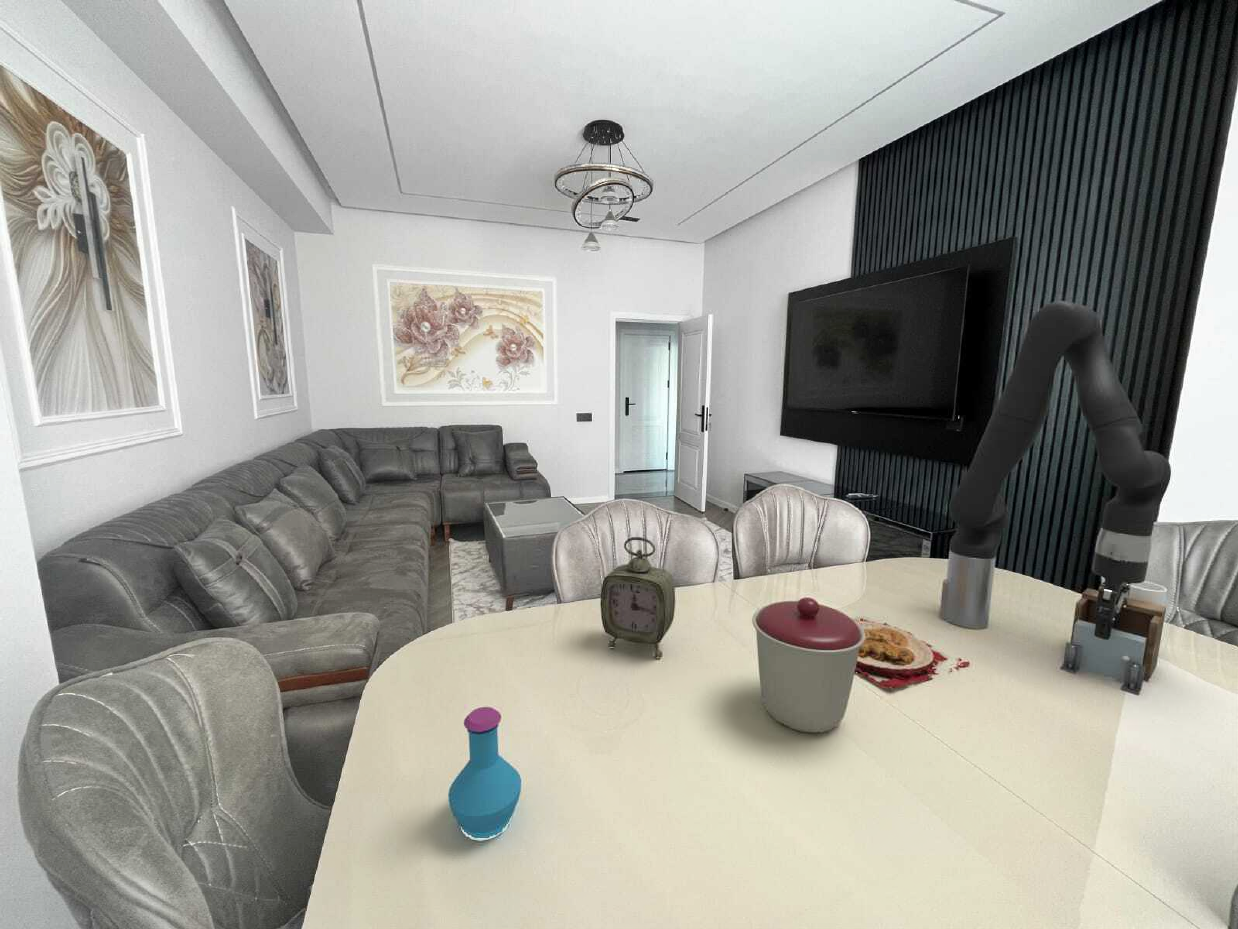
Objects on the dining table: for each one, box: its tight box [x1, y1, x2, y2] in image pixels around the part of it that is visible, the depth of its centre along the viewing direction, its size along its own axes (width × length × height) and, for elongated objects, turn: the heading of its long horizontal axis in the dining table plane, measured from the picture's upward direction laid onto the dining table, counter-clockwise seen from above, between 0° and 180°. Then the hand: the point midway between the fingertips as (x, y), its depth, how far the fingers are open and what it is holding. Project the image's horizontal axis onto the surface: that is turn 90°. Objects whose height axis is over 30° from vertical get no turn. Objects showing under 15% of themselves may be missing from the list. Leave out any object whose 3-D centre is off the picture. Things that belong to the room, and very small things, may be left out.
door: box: [1072, 620, 1147, 683], centre depth 103 cm, size 10×4×9 cm, turn 38°
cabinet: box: [1070, 588, 1167, 682], centre depth 107 cm, size 12×9×13 cm
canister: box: [751, 597, 866, 733], centre depth 89 cm, size 18×18×21 cm
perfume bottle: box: [448, 706, 522, 838], centre depth 67 cm, size 9×9×15 cm
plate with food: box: [853, 617, 970, 690], centre depth 113 cm, size 25×26×4 cm
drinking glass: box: [1129, 580, 1168, 607], centre depth 111 cm, size 7×7×15 cm
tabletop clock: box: [599, 536, 676, 658], centre depth 111 cm, size 14×9×25 cm, turn 68°
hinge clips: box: [1059, 641, 1145, 696], centre depth 101 cm, size 11×3×5 cm, turn 37°
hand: (1107, 631), depth 102 cm, fingers open, 8 cm apart
